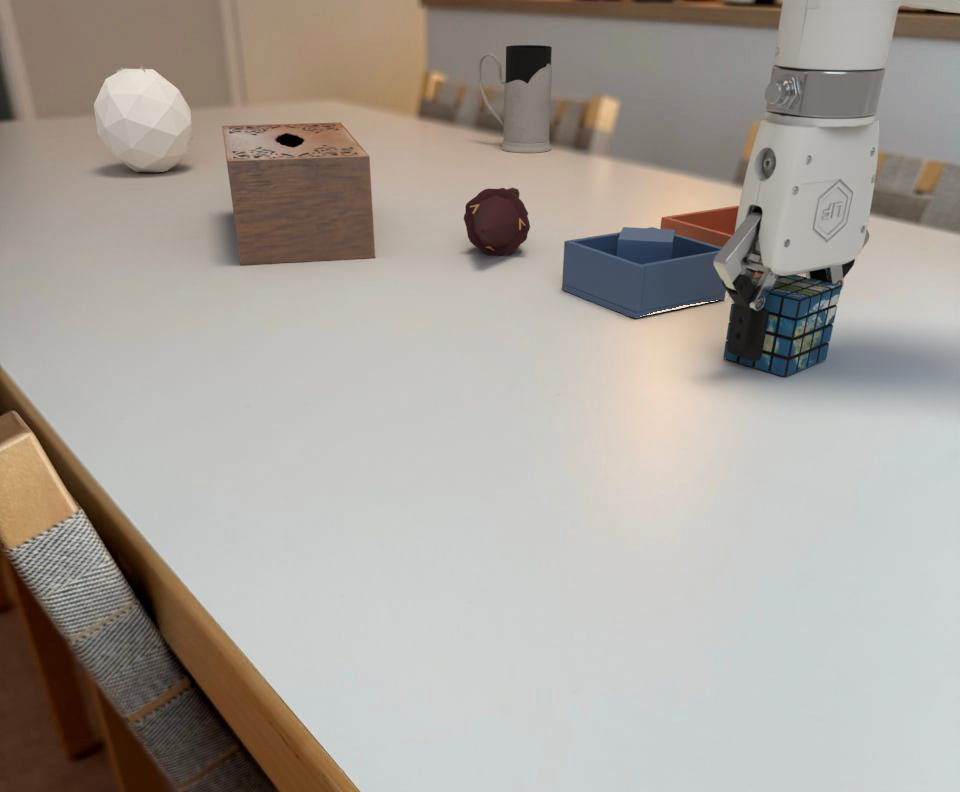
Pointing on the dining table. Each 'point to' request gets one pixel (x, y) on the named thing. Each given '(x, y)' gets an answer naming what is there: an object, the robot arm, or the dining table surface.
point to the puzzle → (794, 325)
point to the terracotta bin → (705, 225)
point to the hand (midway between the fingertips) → (776, 346)
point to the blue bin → (641, 275)
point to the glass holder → (524, 98)
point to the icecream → (497, 221)
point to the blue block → (645, 244)
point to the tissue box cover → (299, 193)
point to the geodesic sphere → (143, 120)
